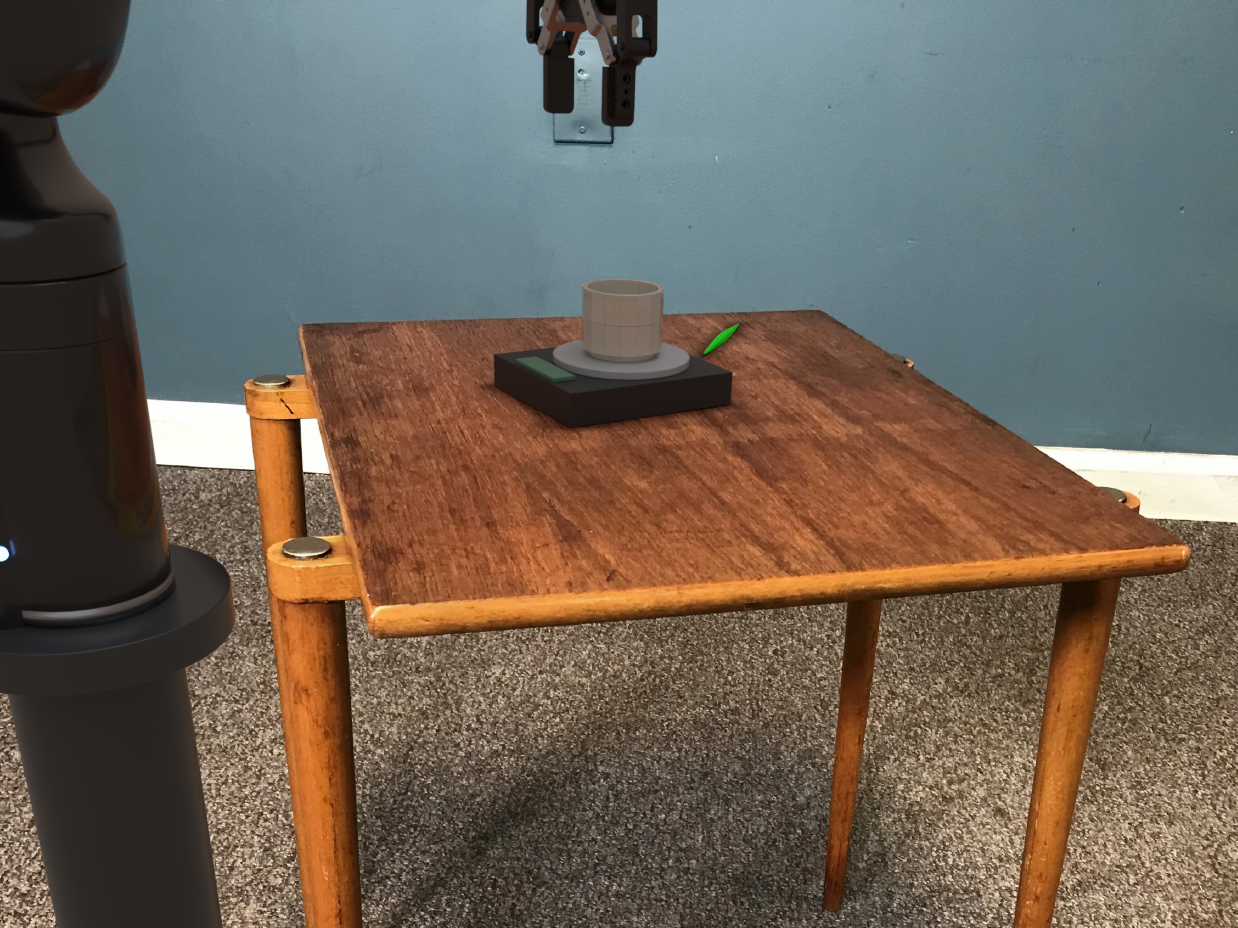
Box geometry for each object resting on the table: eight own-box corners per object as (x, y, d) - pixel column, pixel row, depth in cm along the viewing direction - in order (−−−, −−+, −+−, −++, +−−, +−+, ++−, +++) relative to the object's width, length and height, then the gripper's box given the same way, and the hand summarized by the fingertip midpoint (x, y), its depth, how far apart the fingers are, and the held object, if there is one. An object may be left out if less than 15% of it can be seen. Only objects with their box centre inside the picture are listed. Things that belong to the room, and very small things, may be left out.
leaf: (745, 327, 127) (745, 318, 127) (705, 362, 115) (706, 352, 115) (735, 326, 128) (736, 317, 127) (695, 360, 116) (696, 351, 115)
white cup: (607, 367, 99) (608, 298, 97) (567, 348, 104) (567, 282, 102) (676, 359, 103) (678, 291, 100) (634, 341, 107) (636, 276, 105)
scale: (570, 428, 96) (570, 385, 95) (494, 386, 105) (493, 346, 104) (730, 404, 103) (733, 364, 102) (647, 366, 112) (648, 329, 111)
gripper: (491, -149, 92) (495, 109, 100) (594, -159, 82) (590, 131, 89) (587, -139, 96) (584, 109, 103) (698, -147, 85) (686, 130, 93)
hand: (587, 119), depth 96 cm, fingers open, 8 cm apart
